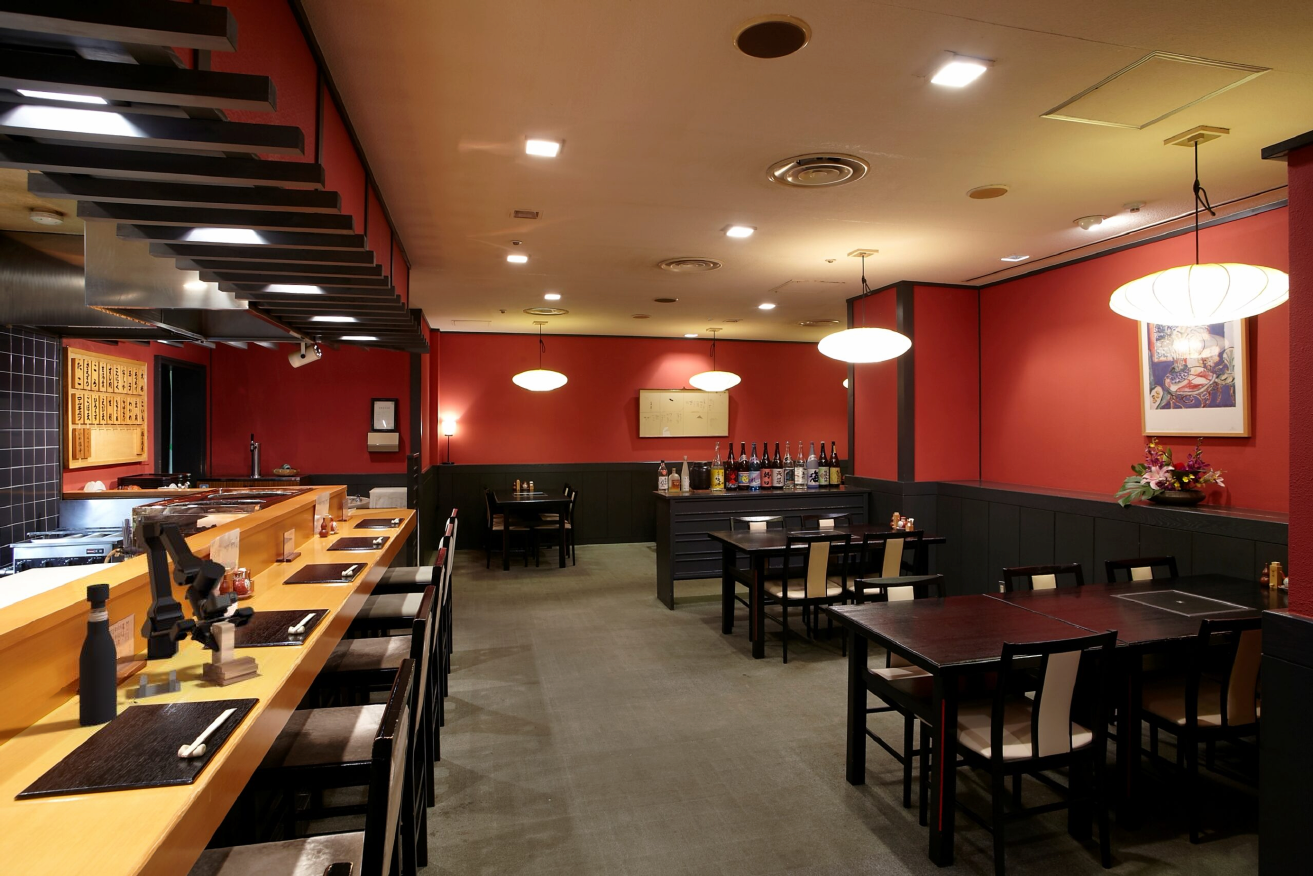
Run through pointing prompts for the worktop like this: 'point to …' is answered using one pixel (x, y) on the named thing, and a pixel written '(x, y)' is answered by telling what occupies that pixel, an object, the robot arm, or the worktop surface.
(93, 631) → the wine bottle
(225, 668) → the offcut stack
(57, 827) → the worktop surface
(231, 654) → the birch board
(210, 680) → the walnut rack
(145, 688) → the grey holder
